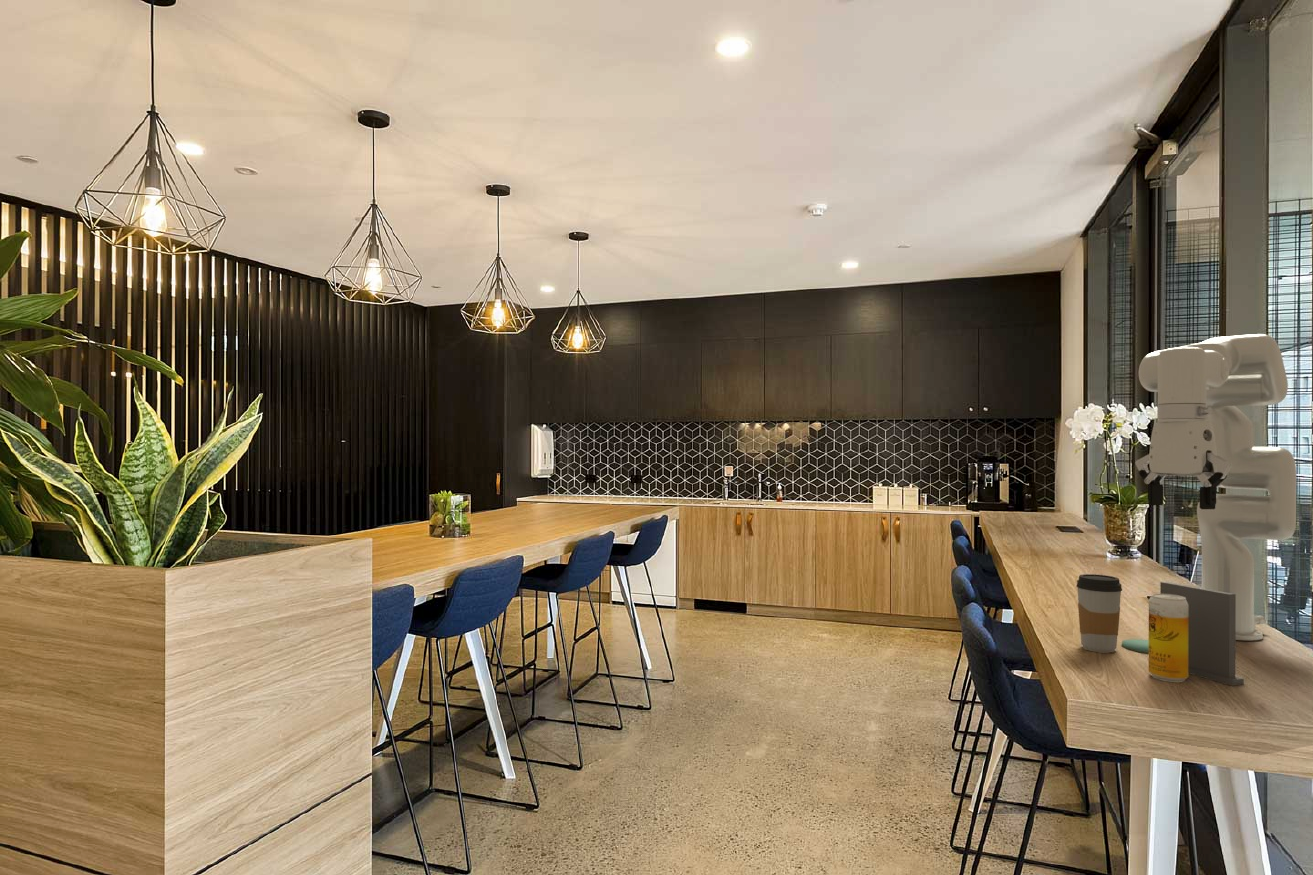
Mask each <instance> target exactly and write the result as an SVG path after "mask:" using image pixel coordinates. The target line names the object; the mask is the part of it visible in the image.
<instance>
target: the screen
mask: <svg viewBox="0 0 1313 875" xmlns="http://www.w3.org/2000/svg"><path fill="white" fill-rule="evenodd" d="M1159 584H1160V585H1159V586H1160V587H1159V588H1160V589H1159V590H1160V593H1159V594H1172V595H1179V596H1183V597H1185V598H1186V601H1187V603H1188V605H1189V607H1188V674H1191V675H1193V676H1198V677H1200V678H1204V679H1206V680H1210V681H1214V682H1218V683H1220V684H1224V685H1228V686H1232V687H1234V686H1241V684H1242V685H1244V684H1245V679H1244V677H1240V676H1236V640H1235V639H1236V594H1232V593H1227V592H1221V591H1216V590H1210V589H1205V588H1202V587H1199V586H1192V585H1187V584H1184V583H1183V584H1182V583H1177V582H1171V581H1160V583H1159Z"/></svg>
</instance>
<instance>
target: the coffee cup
mask: <svg viewBox="0 0 1313 875" xmlns="http://www.w3.org/2000/svg"><path fill="white" fill-rule="evenodd" d="M1120 582H1121V581H1120V578H1118V577H1117V576H1111V575H1106V574H1105V575H1104V574H1095V573H1092V574H1091V573H1090V574H1089V573H1088V574H1085V573H1084V574H1080V575H1079V576H1078V579H1076V588H1077V601H1078V603H1077V605H1078V610H1077V611H1078V620H1079V621H1078V622H1079V633H1080V642H1081V646H1082V648H1083V649H1084V650H1086V651H1090V652H1096V653H1101V652H1104V653H1105V654H1108V653H1109V652H1112V653H1114V652H1116V650H1117V648H1118V647H1117V646H1118V644H1117V643H1118V636H1119V627H1120V614H1121V594H1122V591H1123V588H1122V585H1123V584H1122V583H1120ZM1109 654H1110V653H1109Z"/></svg>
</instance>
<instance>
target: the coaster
mask: <svg viewBox="0 0 1313 875" xmlns="http://www.w3.org/2000/svg"><path fill="white" fill-rule="evenodd" d="M1121 646H1122V647H1123V648H1125V649H1126V650H1130V651H1134V652H1137V653H1142V654H1148V655H1149V639H1142V638H1141V639H1139V638H1133V639H1132V638H1131V639H1130V638H1129V639H1124V640H1122V641H1121Z"/></svg>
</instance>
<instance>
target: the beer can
mask: <svg viewBox="0 0 1313 875" xmlns="http://www.w3.org/2000/svg"><path fill="white" fill-rule="evenodd" d="M1188 607H1189V605H1188V603H1187V601H1186V598H1185V597H1183V596H1179V595H1172V594H1160V593H1152V594H1151V595H1150V598H1149V599H1148V640H1149V654H1148V672H1149V673H1150V674H1151V677H1152V678H1154V679H1155V680H1159V681H1163V682H1169V683H1183V682H1186V679H1187V678H1189V673H1188Z"/></svg>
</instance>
